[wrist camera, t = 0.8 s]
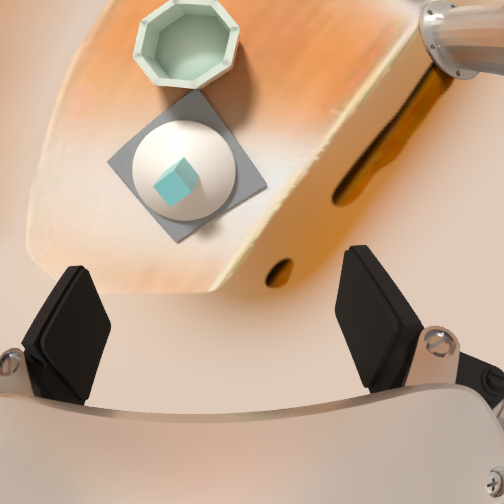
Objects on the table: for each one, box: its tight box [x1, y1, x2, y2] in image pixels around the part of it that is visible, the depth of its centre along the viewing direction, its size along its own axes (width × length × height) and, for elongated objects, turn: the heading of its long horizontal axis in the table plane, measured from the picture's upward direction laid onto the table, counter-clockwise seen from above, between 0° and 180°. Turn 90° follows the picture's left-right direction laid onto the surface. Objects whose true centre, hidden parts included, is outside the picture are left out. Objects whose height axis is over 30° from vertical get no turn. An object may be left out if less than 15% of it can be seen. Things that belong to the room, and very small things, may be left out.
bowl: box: [133, 0, 240, 89], centre depth 24 cm, size 10×10×6 cm
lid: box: [132, 120, 236, 221], centre depth 31 cm, size 13×13×6 cm
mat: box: [107, 89, 267, 242], centre depth 34 cm, size 15×15×1 cm
